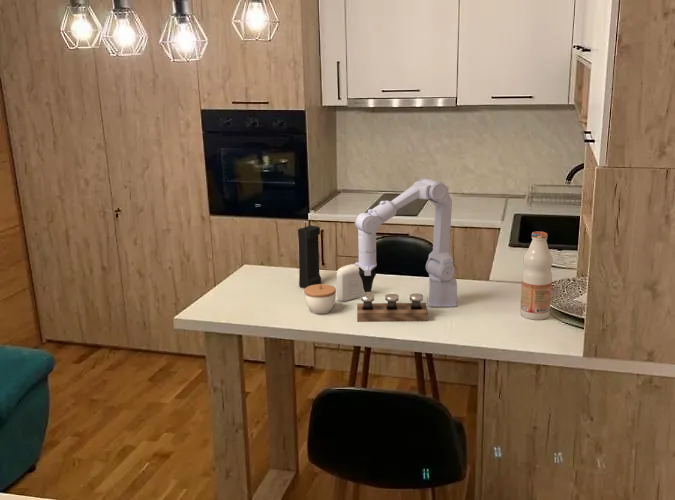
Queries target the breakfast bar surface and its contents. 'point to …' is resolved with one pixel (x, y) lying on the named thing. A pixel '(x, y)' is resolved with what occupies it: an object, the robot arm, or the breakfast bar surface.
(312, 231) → the portable radio
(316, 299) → the lidded jar
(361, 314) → the bar
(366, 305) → the knob
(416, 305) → the knob
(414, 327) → the breakfast bar surface
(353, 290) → the photo printer
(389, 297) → the knob middle
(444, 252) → the robot arm
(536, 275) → the fruit juice
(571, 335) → the breakfast bar surface
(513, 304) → the breakfast bar surface
